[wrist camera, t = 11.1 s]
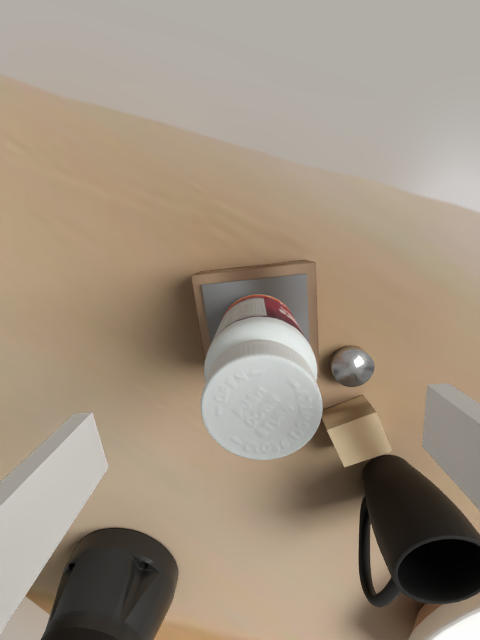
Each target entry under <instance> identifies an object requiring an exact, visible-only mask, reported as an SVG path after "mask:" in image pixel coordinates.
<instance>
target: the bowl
mask: <svg viewBox="0 0 480 640" xmlns="http://www.w3.org/2000/svg"><path fill="white" fill-rule="evenodd" d="M409 640H480V593H478V594H477V595H475V596H473V597H471V598H469V599H466V600H463V601H460V602H456V603H450V604H428V603H426V604H425V605H424V606H423V607H422V608H421V609H420V611H419V613H418V615H417V618H416V621H415V624H414V627H413V630H412V632H411V635H410V637H409Z"/></svg>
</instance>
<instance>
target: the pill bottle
mask: <svg viewBox="0 0 480 640" xmlns="http://www.w3.org/2000/svg"><path fill="white" fill-rule="evenodd" d="M204 377H205V386H204V389H203V393H202V398H201V414H202V419H203V422H204V424H205V426H206V428H207V430H208V432H209V434H210V435H211V436H212V438H213V439H214V440H215V441H216V442H217V443H218V444H219V445H220V446H222V447H223V448H225V449H226V450H228V451H230V452H231V453H234V454H236V455H238V456H241V457H245V458H249V459H256V460H270V459H276V458H280V457H284V456H287V455H289V454H291V453H294V452H295V451H297V450H299V449H300V448H302V447H303V446H304V445H305V444H306V443H307V442H308V441H309V440H310V439H311V438H312V437H313V435H314V434H315V432H316V431H317V429H318V427H319V424H320V421H321V417H322V410H323V408H322V397H321V394H320V391H319V388H318V385H317V383H316V381H317V363H316V359H315V355H314V353H313V351H312V348H311V346H310V344H309V342H308V340H307V339H306V338H305V336H304V334H303V333H302V331H301V329H300V327H299V325H298V324H297V322H296V320H295V319H294V317H293V315H292V313H291V312H290V310H289V309H288V308H287V307H286V305H284V304H283V303H282V302H281V301H279V300H278V299H276V298H274V297H271V296H268V295H263V294H254V295H249V296H245V297H243V298H241V299H239V300H237V301H236V302H234V303H233V304H232V305H231V306H230V307H229V308H228V310H227V311H226V313H225V314H224V316H223V318H222V321H221V323H220V325H219V328H218V330H217V332H216V334H215V336H214V339H213V341H212V343H211V345H210V347H209V350H208V352H207V355H206V360H205V365H204Z"/></svg>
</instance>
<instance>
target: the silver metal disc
mask: <svg viewBox="0 0 480 640" xmlns="http://www.w3.org/2000/svg"><path fill="white" fill-rule="evenodd" d="M329 366H330V370H331V373H332V374H333V376H334V377H335V379H336V380H337V381H338V382H339V383H340V384H342V385H344V386H348V387H356V386H360V385H362V384H364V383H365V382H367V381H368V380H369V379H370V378H371V376H372V374H373V372H374V362H373V360H372V358H371V357H370V356H369V355H368V354H367V353H366V352H365V351H364V350H363V349H361V348H359V347H357V346H345V347H342V348H340V349H338V350H337V351H336V352H335V353H334V354H333V355H332V357H331V359H330V364H329Z"/></svg>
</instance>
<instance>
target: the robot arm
mask: <svg viewBox="0 0 480 640" xmlns="http://www.w3.org/2000/svg"><path fill="white" fill-rule="evenodd" d="M422 447H423V448H424V449H425V450H426V451H427V452H428V453H429V454H430V456H431V457H432V458H433V459H434V460H435V461H436V462H437V463H438V465H439V466H440V467H441V468H442V469H443V470H444V471H445V472H446V473H447V475H448V476H449V477H450V478H451V479H452V480H453V481H454V482H455V483H456V485H457V486H458V487H459V488H460V489H461V490H462V491H463V492H464V494H465V495H466V496H467V497H468V498H469V499H470V500H471V501H472V502H473V504H474V505H475V506H476V507H477V508H478V509H479V510H480V404H479V403H478V402H476V401H475V400H473V399H472V398H470V397H469V396H467V395H466V394H464V393H463V392H461V391H460V390H458V389H456V388H455V387H453V386H452V385H450V384H449V383H445V384H433V385H427V394H426V406H425V418H424V430H423V443H422ZM107 469H108V464H107V461H106V457H105V454H104V450H103V447H102V444H101V440H100V437H99V433H98V430H97V427H96V423H95V420H94V416H93V413H92V412H87V413H75V414H73V415H72V416H71V417H70V418H69V419H68V420H67V421H66V422H65V423H63V424H62V425H61V426H60V427H59V428H58V429H57V430H56V431H55V432H54V433H53V434H52V435H51V436H49V437H48V438H47V439H46V440H45V441H44V442H43V443H42V444H41V445H40V446H39V447H38V448H36V449H35V450H34V451H33V452H32V453H31V454H30V455H29V456H28V457H27V458H26V459H25V460H24V461H22V462H21V463H20V464H19V465H18V466H17V467H16V468H15V469H14V470H13V471H12V472H11V473H9V474H8V475H7V476H6V477H5V478H4V479H3V480H2V481H1V482H0V634H1V632H2V631H3V629H4V628H5V626H6V625H7V623H8V621H9V620H10V618H11V617H12V615H13V614H14V612H15V611H16V609H17V608H18V606H19V604H20V603H21V602H22V600H23V598H24V597H25V595H26V594H27V592H28V591H29V589H30V588H31V586H32V585H33V583H34V582H35V580H36V578H37V577H38V575H39V574H40V572H41V571H42V569H43V568H44V566H45V565H46V563H47V562H48V560H49V558H50V557H51V555H52V554H53V552H54V551H55V549H56V548H57V546H58V545H59V543H60V541H61V540H62V538H63V537H64V535H65V534H66V532H67V531H68V529H69V528H70V526H71V525H72V523H73V521H74V520H75V518H76V517H77V515H78V514H79V512H80V511H81V509H82V508H83V506H84V505H85V503H86V501H87V500H88V498H89V497H90V495H91V494H92V492H93V491H94V489H95V488H96V486H97V485H98V483H99V481H100V480H101V478H102V477H103V475H104V474H105V472H106V471H107ZM177 580H178V567H177V564H176V561H175V559H174V558H173V556H172V555H171V553H170V552H169V551H168V550H167V549H166V548H165V547H164V546H163V545H162V544H160V543H159V542H157V541H156V540H154V539H153V538H151V537H149V536H147V535H144V534H142V533H139V532H135V531H131V530H126V529H106V530H100V531H97V532H94V533H92V534H90V535H88V536H86V537H85V538H84V539H82V540H81V541H80V542H79V544H78V545H77V547H76V548H75V550H74V552H73V554H72V555H71V557H70V559H69V560H68V562H67V564H66V566H65V569H64V572H63V575H62V578H61V581H60V585H59V588H58V591H57V595H56V598H55V601H54V604H53V608H52V611H51V614H50V618H49V621H48V624H47V627H46V630H45V632H44V634H43V637H42V638H41V640H154V638H155V636H156V634H157V632H158V630H159V628H160V626H161V624H162V622H163V620H164V618H165V616H166V613H167V611H168V609H169V607H170V605H171V603H172V600H173V597H174V593H175V589H176V584H177Z"/></svg>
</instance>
